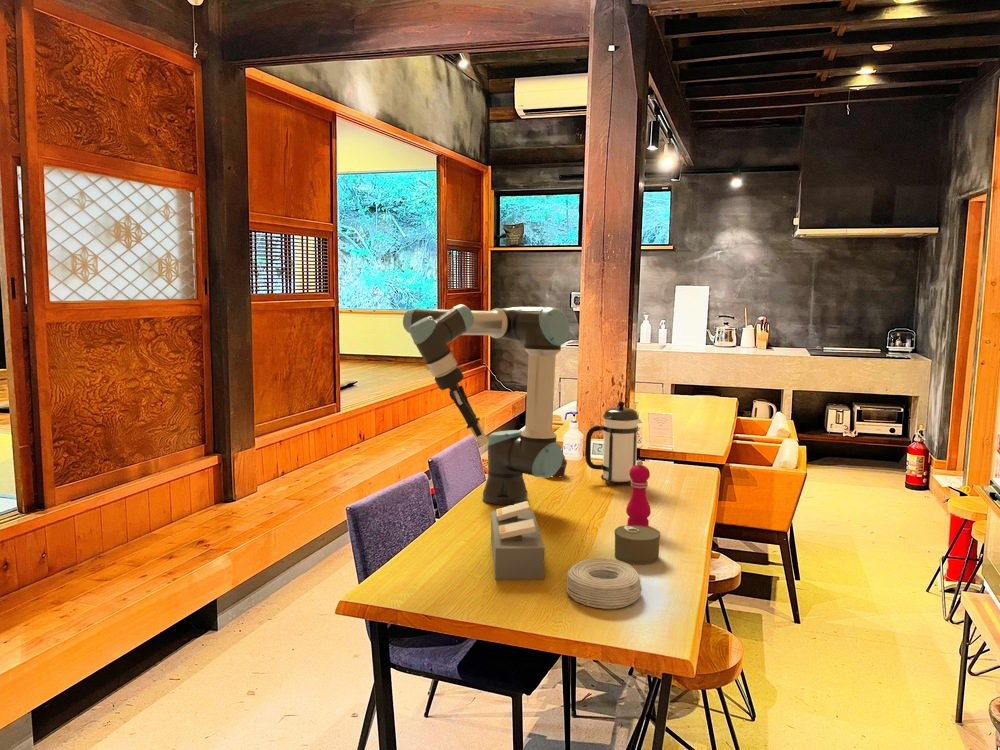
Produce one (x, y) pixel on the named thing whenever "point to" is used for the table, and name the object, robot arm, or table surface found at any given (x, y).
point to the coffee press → (616, 444)
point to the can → (637, 544)
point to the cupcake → (561, 468)
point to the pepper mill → (638, 496)
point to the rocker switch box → (517, 551)
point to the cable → (603, 583)
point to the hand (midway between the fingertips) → (484, 443)
